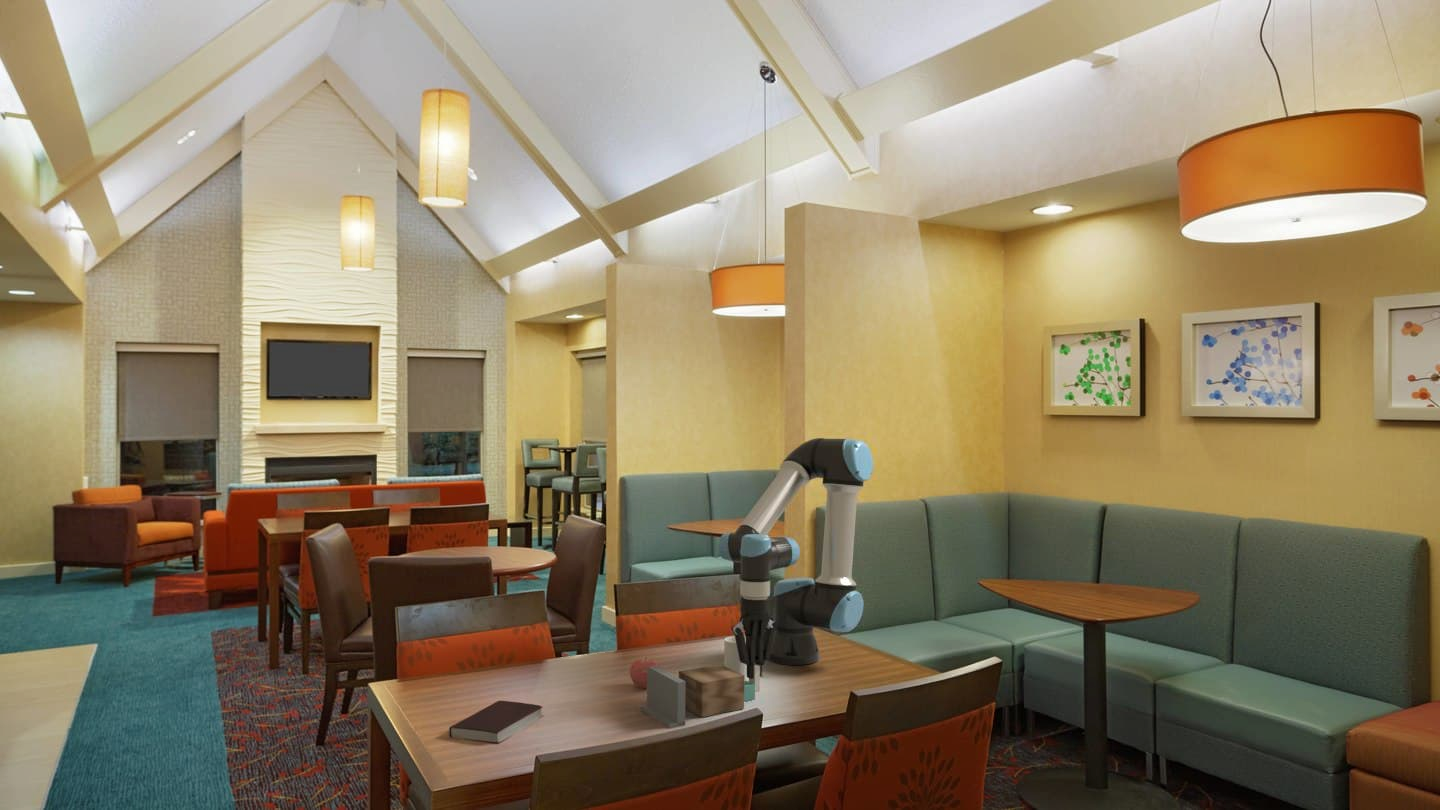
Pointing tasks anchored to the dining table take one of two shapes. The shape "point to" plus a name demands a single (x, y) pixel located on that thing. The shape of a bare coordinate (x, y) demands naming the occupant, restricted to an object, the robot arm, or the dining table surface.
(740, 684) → the block
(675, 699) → the wall
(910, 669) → the dining table surface
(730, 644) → the mug
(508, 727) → the book
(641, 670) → the apple
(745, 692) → the teal bar
